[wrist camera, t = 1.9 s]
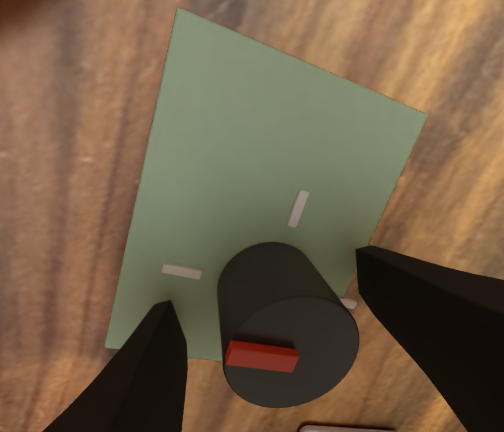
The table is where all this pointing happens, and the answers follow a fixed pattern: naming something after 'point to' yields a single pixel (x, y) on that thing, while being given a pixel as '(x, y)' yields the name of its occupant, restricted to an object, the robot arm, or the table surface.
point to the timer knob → (282, 327)
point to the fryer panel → (251, 174)
